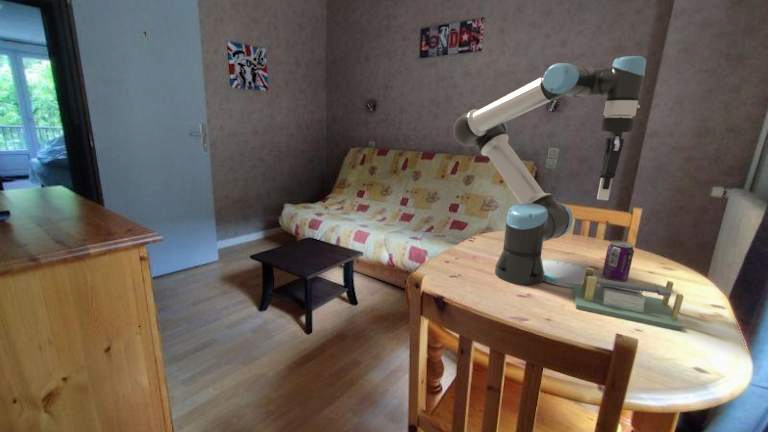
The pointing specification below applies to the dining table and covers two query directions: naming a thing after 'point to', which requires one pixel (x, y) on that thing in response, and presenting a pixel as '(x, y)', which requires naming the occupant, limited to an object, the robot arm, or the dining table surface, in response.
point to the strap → (634, 286)
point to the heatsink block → (622, 298)
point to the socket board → (651, 314)
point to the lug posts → (590, 287)
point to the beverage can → (618, 260)
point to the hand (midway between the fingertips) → (602, 199)
